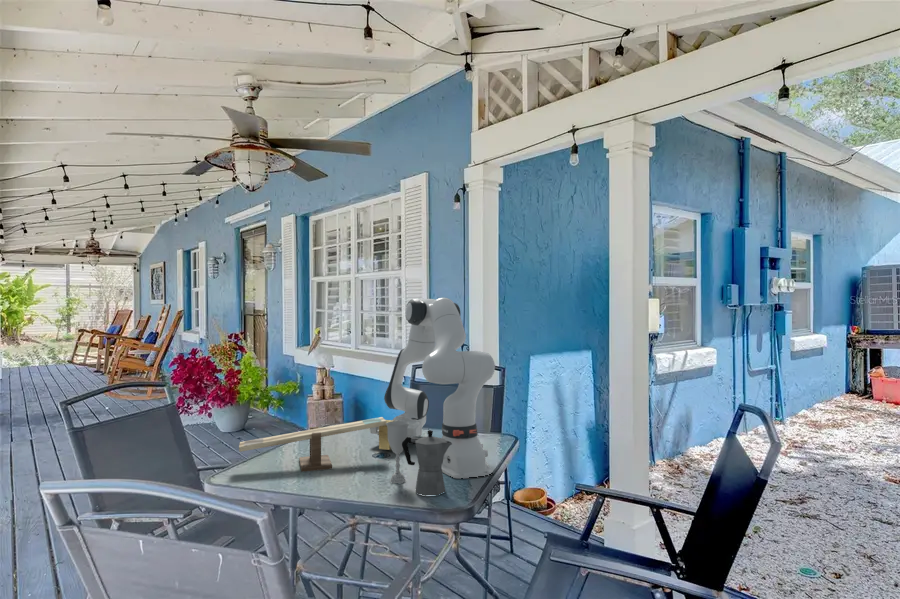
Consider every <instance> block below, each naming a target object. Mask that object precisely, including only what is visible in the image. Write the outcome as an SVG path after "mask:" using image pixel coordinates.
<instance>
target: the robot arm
mask: <svg viewBox="0 0 900 599" xmlns="http://www.w3.org/2000/svg"><path fill="white" fill-rule="evenodd" d="M461 313H462V312H461V309H460V306H459V305H458V303H456V302H454V301H453V300H452V299H450V298H447V297H440V298H437V299H435V298H412V299H410V300H409V301H408V302H407V304H406V307H405V318H406V321H407V323H408V324H410V329H409V334H408V339H407V344H406V346H405V347H404V348H401V349H400V350H399V352H398V354H397V357H396V361H395V362H394V363H395V364H394V366H393V370H392V374H391V377H390V380H389V382H388V386H387V388H386V391H385V393H384V398H383V400H384V403H385V405H386V406H387V408H388V409H393V410H396V411H397V410H398V411H403V413H402V414H399V415H397V416H394V417H393V419H392V420H394V421H405V422H409V425H408V437H415V438H419V437H421V436H422V434H423V427H424V426H425V424H426V422H427V414H428V411H429V404H430V401H429V397H428V395H427V393H426V392H425V391H422V390H420V389H419V390H418V389H415V388H411V387H410V388H409V387H406V386H403V384H402V383H403V380H404V377H405V372H406V369H407V368H408V366H409V365H411V364H415V363H419V362H422V366H421V370H422V371H421V372H422V375H423V377H424V379H425V380H426V381H427V382H429V383H430V384H431V383H432V384H436V385H438V384H439V385H452V384H453V385H455V384H458V386H457V388H456V390H455V391H454V392H452V393H451V394H449V395H448V396H447V397H446V398H445V400H444V402H443V404H442V406H443V407H442V408H443V409H442V412H443V414H442V416H443V417H442V419H443V420H442V423H441V434H442V436H441V438H443V439H445V440H446V441H449V442H451V443H452V445H450V446H449V448H448V449H447V451H446V453H445V454H444V457H443V463H442V473H443V474H445V475H447V476H449V477H450V476H451V478H452V477H453V479H461V478H463V479H470V478H469V477H477V478H479V477H478V476H484V477H486V476H485V475H488V476H490V475H489V474H491V473H492V472H493V473H494V470H493V469H492V467H491V466H490V464H488V463H489V462H488V461H486V458H487V457H488V456H489V452H488V449H484V444H483V443H481V442H480V439H479V437H478V435H479V433H478V427H477V423H476V407H477V401H478V400H477V399H478V396H479V394H480V391H481V390H482V388H483V387H484V385H485V384H486V383H487V382H488V381H489V380H490V379H492V377H493V375H494V373H495V370H496V366H495V365H496V364H495V360H494V358H493V356H492V355H491V354H490V353H488V352H484V351H478V350H463V351H459V349H460V348H461V347H462V346H463V345H464V343H465V341H466V339H467V338H466V337H467V335H466V331H465V327H464V325H463V321H462V318H461ZM369 433H370V434H372V435H377V436H379V427H374V428H369ZM491 475H492V474H491Z"/></svg>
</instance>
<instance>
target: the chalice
mask: <svg viewBox="0 0 900 599" xmlns="http://www.w3.org/2000/svg"><path fill="white" fill-rule="evenodd" d="M386 425H387V427H388V442H389V445H390V447H391V449H390V450H391V451H392V453H394V454H395V460H394V461H395V462H396V463H395V465H394V468H395V472H393V474H392V475H391V477H390V479H389V483H390V482H392V483H391V484H393V483H401V484H404V483H406V482H407V480H406V478H405V475H404V473H403V472H401V471H400V467H401V466H402V465H401V464H400V461H401V457H400V454H401V453H403V452H404V450H403V447H402V442H403V441H404V440H405V439H406V437H408V425H409V422H405V421H393V422H388V423H386ZM405 481H406V482H405ZM403 482H404V483H403Z"/></svg>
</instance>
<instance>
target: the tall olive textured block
mask: <svg viewBox="0 0 900 599" xmlns="http://www.w3.org/2000/svg"><path fill="white" fill-rule="evenodd" d="M385 420H386V423H388V422H393V421H394V420H393V419H385ZM378 449H379V450H389V451H390V450H392V449H391V447H390V445H389V442H388V427H387V425H385V426H379V435H378Z"/></svg>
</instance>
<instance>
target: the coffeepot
mask: <svg viewBox="0 0 900 599" xmlns="http://www.w3.org/2000/svg"><path fill="white" fill-rule="evenodd" d="M408 444H411V445H415V448H416V449H415V450H416V456H417V462H418V471H417V476H416V477H417V478H416V483H415V489H416V490H415V494H416V493H418V494H422V495H439V494H441V493H443V492H445V493H446V487H445V481H444V473H443V472H442V463H443V457H444V454H445V453H446V451H447V449H448V448H449V446H450V445H452V443H451V442H449V441H446V440H445V439H443V438H442V437H437V436H434V435H433V430H431V429H430V430H429V429H428V430H427V436H424V437H406V439H405V440H404V441H403V442H402V447H403V452H404V456H405V459H406V462H407V464H408V465H409V466H415V464H416V462H414V461H412V456H411V454H410V450H409V446H408ZM418 494H417V495H418Z"/></svg>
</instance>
